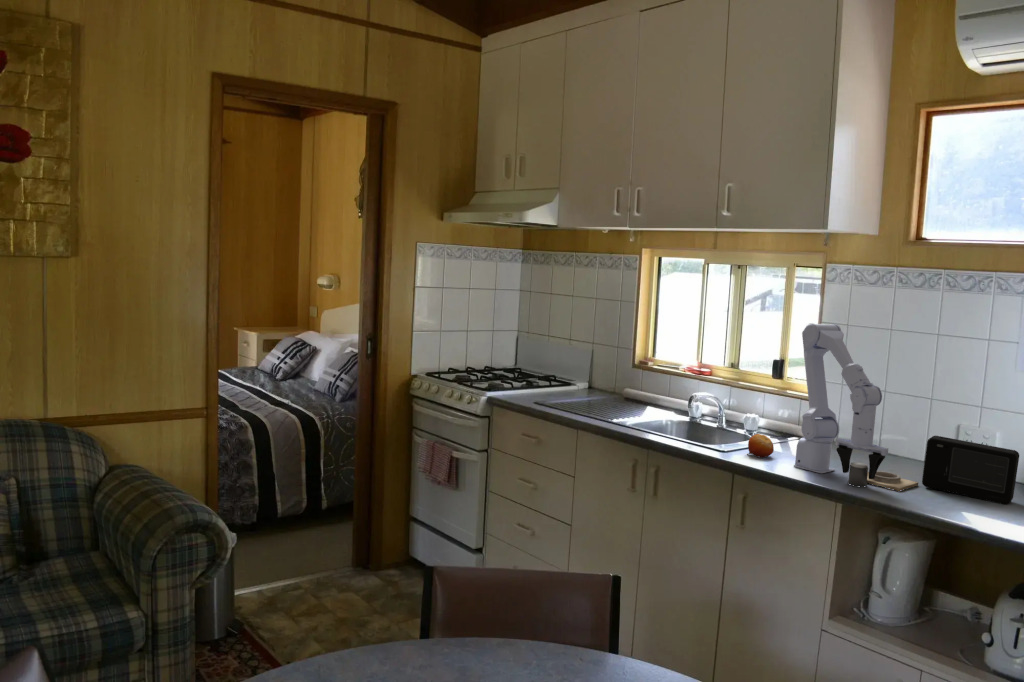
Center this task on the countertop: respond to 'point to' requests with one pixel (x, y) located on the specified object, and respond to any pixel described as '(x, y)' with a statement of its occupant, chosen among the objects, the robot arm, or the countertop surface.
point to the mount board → (891, 481)
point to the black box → (970, 469)
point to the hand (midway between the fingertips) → (858, 475)
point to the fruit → (760, 446)
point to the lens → (858, 474)
